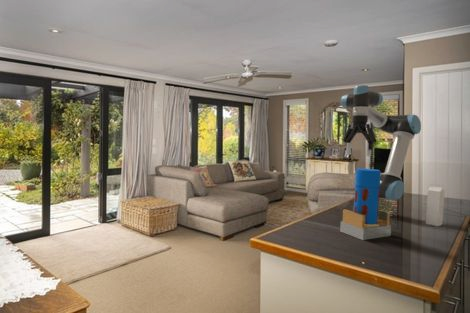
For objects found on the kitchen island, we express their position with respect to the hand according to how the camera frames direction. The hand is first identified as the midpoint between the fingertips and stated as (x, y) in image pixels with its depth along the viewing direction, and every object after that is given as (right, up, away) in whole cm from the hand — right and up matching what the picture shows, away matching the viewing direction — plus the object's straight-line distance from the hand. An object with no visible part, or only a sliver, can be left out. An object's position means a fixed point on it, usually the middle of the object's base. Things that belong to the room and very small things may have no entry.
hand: (358, 155), depth 167 cm
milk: (+43, -38, +4) cm, 58 cm away
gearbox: (-3, -38, -17) cm, 41 cm away
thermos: (-3, -32, -17) cm, 36 cm away
